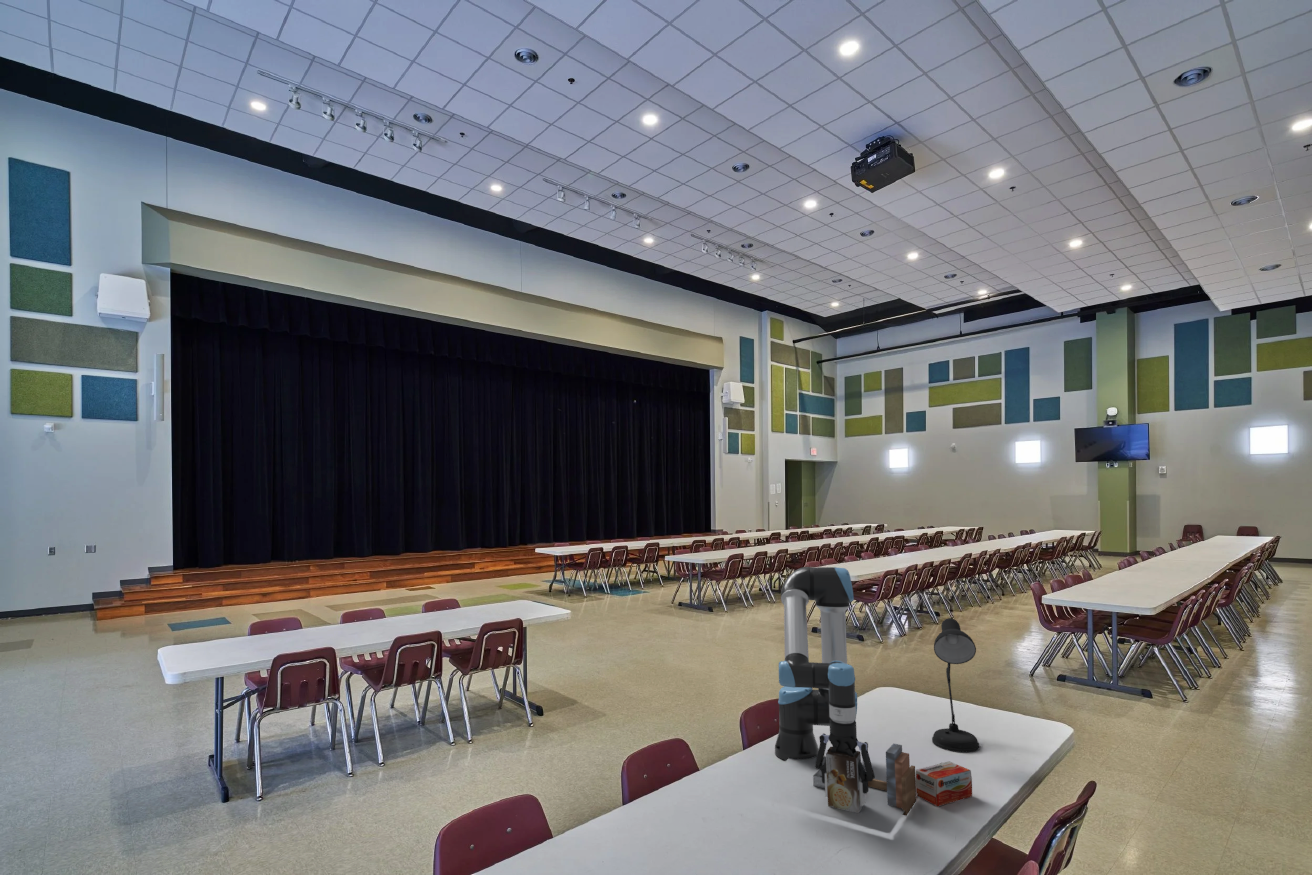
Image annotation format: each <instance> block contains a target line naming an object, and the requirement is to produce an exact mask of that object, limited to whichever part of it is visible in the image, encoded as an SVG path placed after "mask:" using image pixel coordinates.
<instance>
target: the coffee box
mask: <svg viewBox="0 0 1312 875" xmlns="http://www.w3.org/2000/svg"><path fill="white" fill-rule="evenodd" d="M832 747H833V746H830V747H829V748H828V749H827V752H825V761H826V771H827V795H828V797H827V807H829V808H834V809H837V810H838V809H839V810H843V811H847V812H851V813H858V814H860V813H861V810H862V808H863V806H860V793H859V781H860V780H861V778H860V776H859V774H858V762H859V759H860V761H861V762H862V760H861V759H862V755H861V751H860V750H856V751H857V754H856V755H855V756H854V757H852V756H849V755H847V754H844V753H839V752H837V751H836V752H835V753H833V752H830V751H831V749H832Z"/></svg>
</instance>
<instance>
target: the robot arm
mask: <svg viewBox="0 0 1312 875" xmlns="http://www.w3.org/2000/svg"><path fill="white" fill-rule="evenodd" d="M854 598H855V597H854V589H853V583H852V578H851V575H850V572H849V570H848V569H847V568H845V567H836V566H834V567H831V566H830V567H828V566H827V567H826V566H825V567H824V566H823V567H822V566H821V567H820V566H818V567H816V566H815V567H814V566H813V567H812V566H811V567H810V566H803V567H800V568H798V569H796V570H793V572H791V573H790V574H789V576H787V577H786V579H785V581H784V582H783V585H782V587H781V592H780V601H781V604H782V605H783V610H784V611H783V614H784V616H783V618H784V619H783V621H784V622H783V625H784V626H783V627H784V629H783V632H784V637H783V638H784V660H783V661H782V660H781V661H779V662H778V683H779V685H780V686H782V687H781V688H780V689H779V691H778V701H777V703H778V713H779V714H778V715H779V716H778V718H779V720H778V721H779V723H778V724H779V726H778V727H779V730H778V734H777V738H776V742H775V744H774V754H775V756H776V757H777V758H778V759H780V760H784V761H788V760H789V759H792V760H809V759H813V758H815V757H816V761H815V766H814V767H815V769H816V770H821V772H822V783H825V789H824V791H825V792H824V793H825V794H824V797H825V798H828V795H827V771H826V760H825V761H824V758H825V755H826V748H827V744H828V742H830V744H831V745H832V746H831V747H832V749H831V751H830V752H833V753H835V752H836V751H837V752H839V753H844V754H847V755H849V756H852V757H854V756H855V755H856V754H857V751H860V754H861V759H862V760H861V761H860V759H859V762H858V774H859V776H860V778H861V780H860V781H859V793H860V806H862V807H863V806H864V805H865V804H866V794H867V793H868V792H869V787H868V781H872V780H873V779H875V778H876V776H875V772H874V767H873V766H872V762H871V757H870V754H869V743H868V742H867V741H865V742H862V741H859V740H858V736H857V722H856V720H857V712H858V693H857V691H856V676H855V669H854V667H853V665H851V664H848V656H847V655H848V654H847V652H848V650H847V649H848V648H847V625H846V624H847V622H846V621H847V620H846V612H847V610H848V609H849V608H850V603H851V602H853V601H854ZM809 601H815V607H816V608H817V609H818V610H819V611H820V635H821V636H820V638H821V643H820V644H821V662H815V661H814V662H812V661H811V662H810V661H809V639H808V638H809V636H808V617H807V605H808V604H809V603H810V602H809ZM814 726H822V727H829V735H828V734H826V733H822V734H820V736H819V738H818V739H819V746H818V743H817V739H816V737H815V733H814ZM857 747H858V748H859V750H856V748H857ZM823 761H824V763H823ZM862 762H863V763H862ZM863 765H864V766H863Z"/></svg>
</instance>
